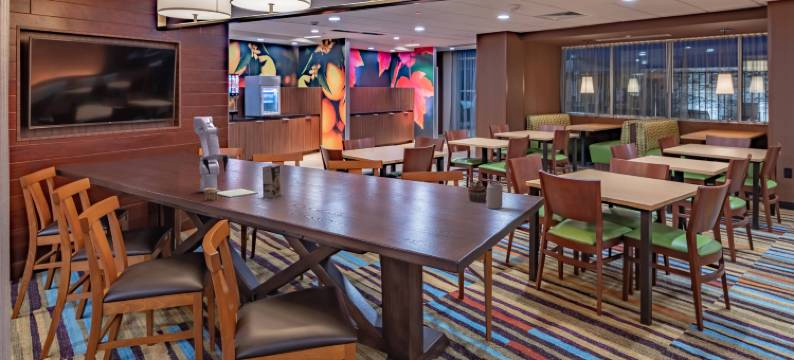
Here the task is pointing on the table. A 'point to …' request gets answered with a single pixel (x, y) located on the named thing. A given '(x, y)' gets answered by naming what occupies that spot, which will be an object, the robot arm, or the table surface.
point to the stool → (210, 190)
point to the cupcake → (477, 192)
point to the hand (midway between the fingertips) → (217, 172)
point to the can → (494, 196)
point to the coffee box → (271, 181)
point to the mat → (236, 193)
